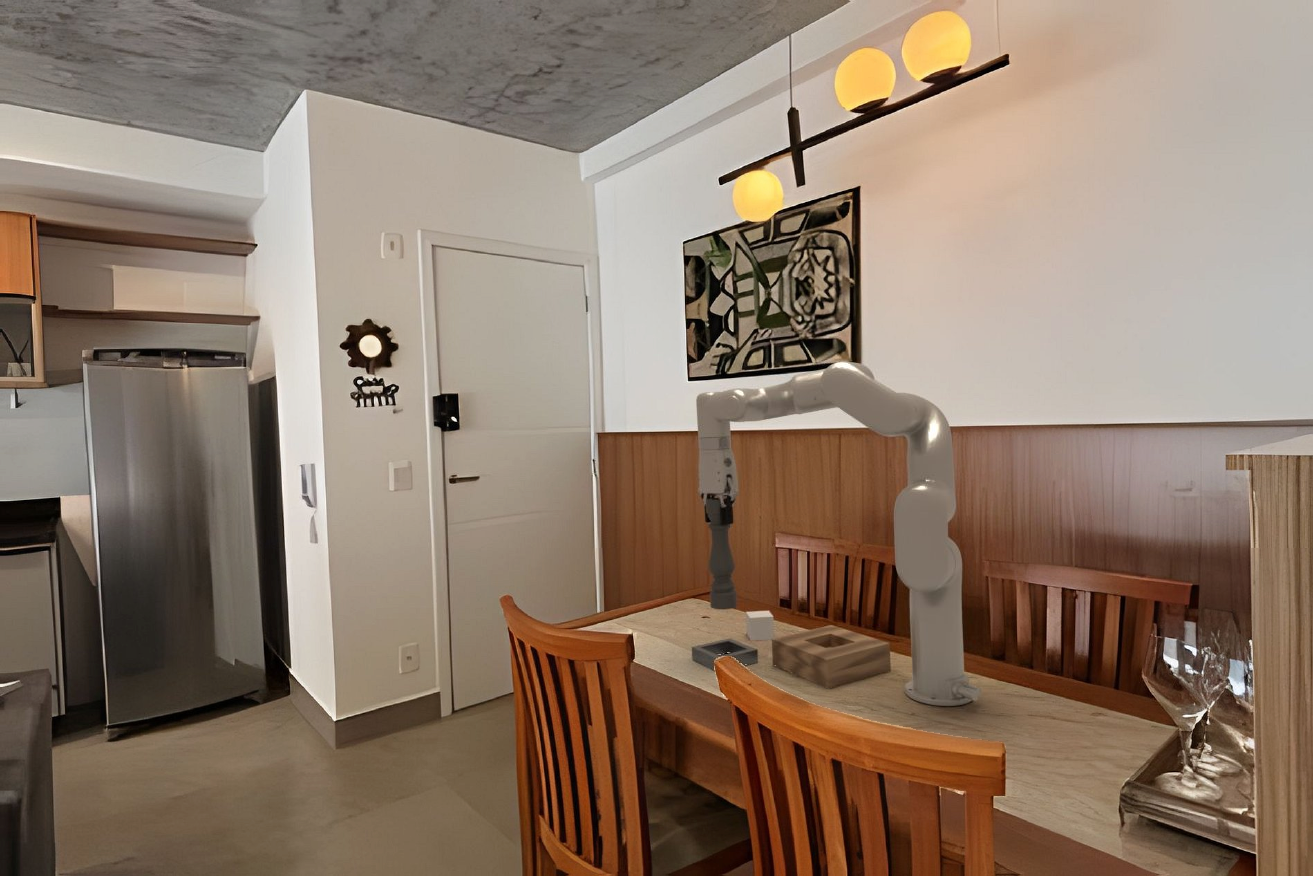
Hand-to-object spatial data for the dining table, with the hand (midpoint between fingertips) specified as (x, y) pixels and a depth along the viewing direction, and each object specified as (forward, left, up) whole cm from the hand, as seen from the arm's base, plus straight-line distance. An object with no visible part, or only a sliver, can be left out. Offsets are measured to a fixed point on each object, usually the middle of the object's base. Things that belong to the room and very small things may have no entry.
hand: (719, 522), depth 166 cm
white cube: (+10, -18, -33) cm, 39 cm away
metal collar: (0, 0, -32) cm, 32 cm away
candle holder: (0, 0, -20) cm, 20 cm away
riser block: (-18, -16, -32) cm, 40 cm away
